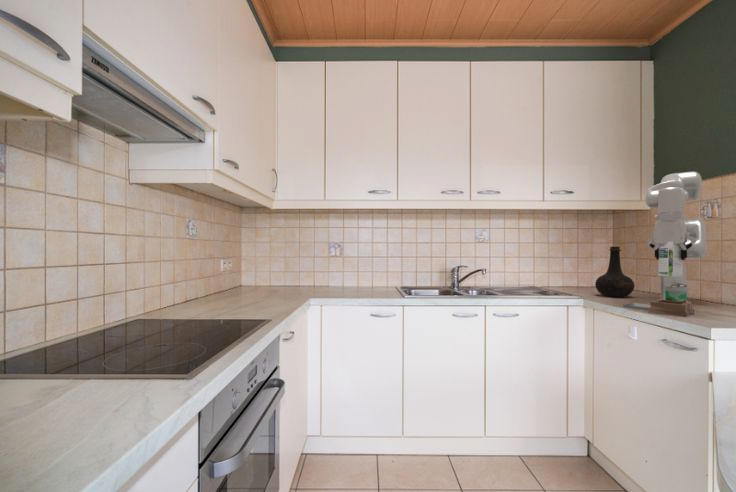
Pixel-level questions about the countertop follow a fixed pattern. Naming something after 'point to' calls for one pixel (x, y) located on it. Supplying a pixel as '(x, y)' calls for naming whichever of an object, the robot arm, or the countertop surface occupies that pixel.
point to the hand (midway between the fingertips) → (670, 259)
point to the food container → (676, 292)
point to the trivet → (637, 305)
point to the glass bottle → (614, 278)
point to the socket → (671, 308)
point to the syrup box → (670, 260)
